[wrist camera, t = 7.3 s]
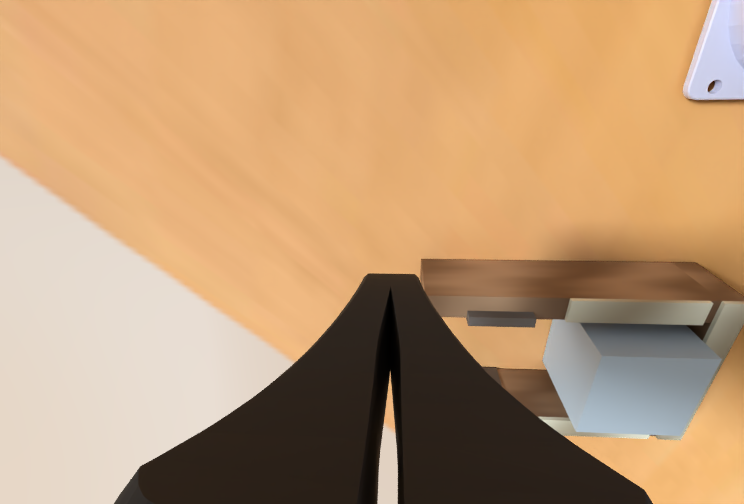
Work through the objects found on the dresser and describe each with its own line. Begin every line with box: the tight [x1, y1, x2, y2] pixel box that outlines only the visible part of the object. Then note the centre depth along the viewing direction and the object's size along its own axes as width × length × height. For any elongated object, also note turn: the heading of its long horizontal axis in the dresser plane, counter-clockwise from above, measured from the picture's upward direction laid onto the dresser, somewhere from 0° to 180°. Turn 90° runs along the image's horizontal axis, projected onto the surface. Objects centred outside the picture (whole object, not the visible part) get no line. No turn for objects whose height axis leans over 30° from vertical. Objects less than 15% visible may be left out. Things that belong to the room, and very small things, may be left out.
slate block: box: [542, 319, 722, 436], centre depth 20 cm, size 5×5×5 cm
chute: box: [420, 259, 744, 440], centre depth 21 cm, size 14×9×4 cm, turn 91°
